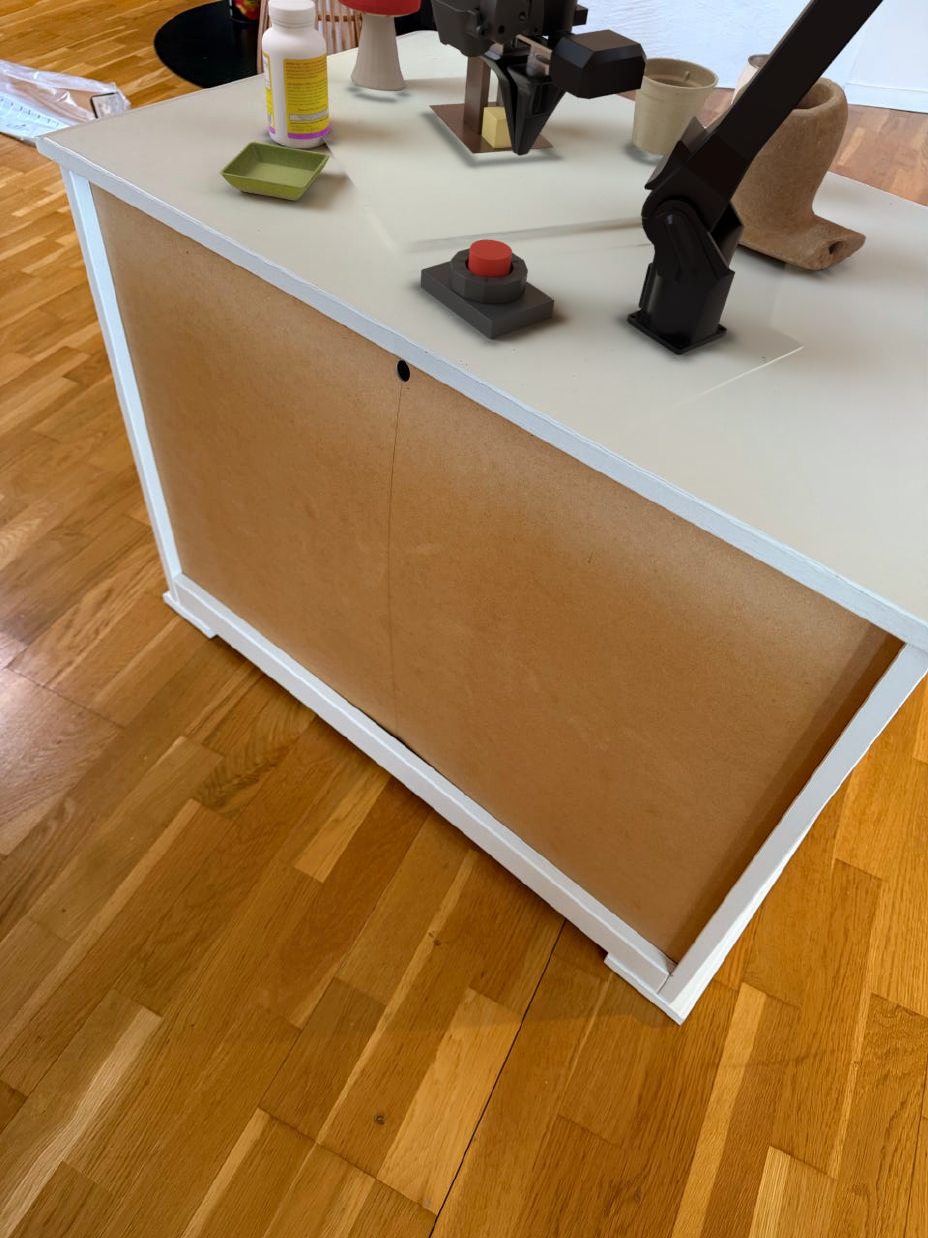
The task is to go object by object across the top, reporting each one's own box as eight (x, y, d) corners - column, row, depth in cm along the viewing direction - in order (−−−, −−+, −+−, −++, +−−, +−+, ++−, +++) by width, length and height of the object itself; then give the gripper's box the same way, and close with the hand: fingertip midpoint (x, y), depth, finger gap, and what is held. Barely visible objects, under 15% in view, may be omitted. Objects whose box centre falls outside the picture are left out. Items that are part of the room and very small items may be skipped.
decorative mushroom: (428, 89, 112) (435, -57, 101) (400, 111, 106) (404, -41, 95) (356, 73, 114) (355, -73, 102) (325, 93, 108) (320, -58, 97)
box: (551, 317, 78) (558, 280, 75) (490, 340, 75) (494, 301, 72) (480, 268, 83) (484, 231, 80) (420, 287, 80) (422, 249, 77)
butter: (529, 145, 100) (533, 117, 97) (493, 148, 98) (496, 119, 96) (516, 133, 102) (520, 104, 100) (481, 135, 100) (483, 106, 98)
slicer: (553, 157, 101) (569, 49, 93) (471, 164, 98) (481, 53, 90) (504, 110, 109) (515, 7, 101) (428, 115, 106) (432, 10, 98)
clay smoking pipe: (671, 234, 91) (714, 70, 79) (735, 204, 97) (783, 47, 85) (800, 296, 84) (866, 126, 73) (859, 259, 90) (929, 98, 79)
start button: (518, 272, 76) (520, 253, 75) (485, 283, 75) (487, 263, 73) (491, 255, 78) (494, 235, 77) (459, 264, 76) (461, 245, 75)
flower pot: (713, 163, 104) (736, 80, 97) (654, 176, 100) (674, 92, 93) (659, 133, 109) (678, 52, 102) (601, 145, 105) (616, 62, 98)
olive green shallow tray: (252, 160, 94) (250, 139, 93) (331, 174, 93) (330, 153, 92) (220, 194, 88) (218, 172, 87) (305, 209, 88) (303, 187, 86)
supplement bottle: (341, 138, 100) (339, 3, 90) (304, 155, 96) (297, 17, 86) (295, 121, 102) (287, -12, 92) (256, 138, 98) (244, 0, 88)
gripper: (376, -110, 62) (375, 128, 74) (545, -39, 53) (514, 220, 65) (500, -117, 67) (481, 107, 79) (675, -53, 58) (624, 191, 70)
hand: (520, 153), depth 73 cm, fingers closed
